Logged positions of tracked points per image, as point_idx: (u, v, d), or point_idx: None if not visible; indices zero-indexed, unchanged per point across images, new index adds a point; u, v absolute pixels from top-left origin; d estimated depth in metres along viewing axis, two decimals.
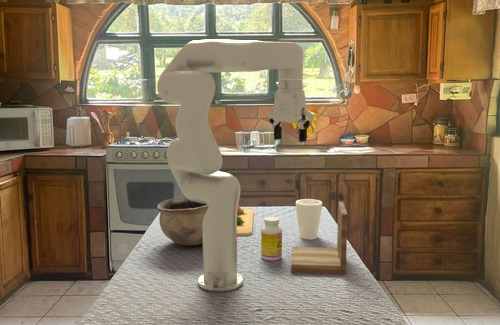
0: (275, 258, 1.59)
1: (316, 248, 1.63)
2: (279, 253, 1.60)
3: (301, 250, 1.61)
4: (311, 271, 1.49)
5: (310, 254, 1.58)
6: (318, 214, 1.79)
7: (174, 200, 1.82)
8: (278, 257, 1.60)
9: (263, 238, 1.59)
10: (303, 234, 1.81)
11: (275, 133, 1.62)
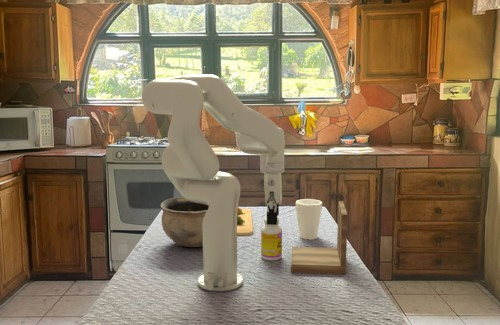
0: (275, 258, 1.59)
1: (316, 248, 1.63)
2: (279, 253, 1.60)
3: (301, 250, 1.61)
4: (311, 271, 1.49)
5: (310, 254, 1.58)
6: (318, 214, 1.79)
7: (178, 199, 1.82)
8: (278, 257, 1.60)
9: (263, 238, 1.59)
10: (303, 234, 1.81)
11: None
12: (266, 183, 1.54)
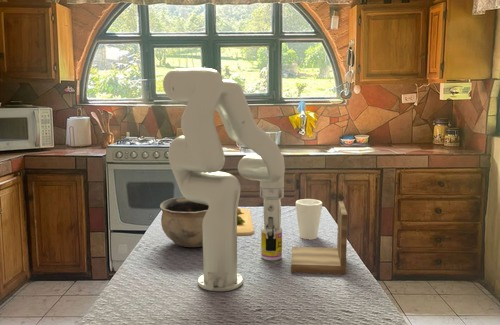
0: (275, 258, 1.59)
1: (316, 248, 1.63)
2: (279, 253, 1.60)
3: (301, 250, 1.61)
4: (311, 271, 1.49)
5: (310, 254, 1.58)
6: (318, 214, 1.79)
7: (178, 199, 1.82)
8: (278, 257, 1.60)
9: (263, 238, 1.59)
10: (303, 234, 1.81)
11: None
12: (265, 208, 1.55)
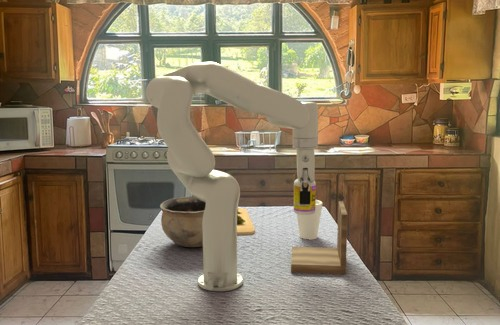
0: (309, 212, 1.52)
1: (316, 248, 1.63)
2: (313, 207, 1.53)
3: (301, 250, 1.61)
4: (311, 271, 1.49)
5: (310, 254, 1.58)
6: (318, 214, 1.79)
7: (178, 199, 1.82)
8: (312, 211, 1.53)
9: (296, 191, 1.52)
10: (303, 234, 1.81)
11: None
12: (300, 159, 1.48)
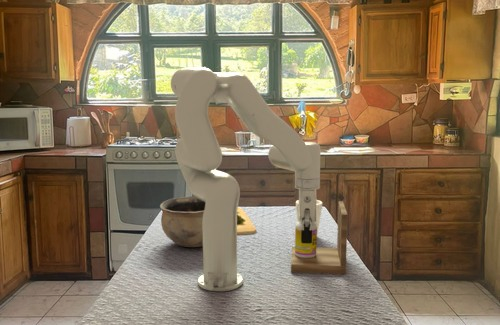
0: (310, 256, 1.54)
1: None
2: (314, 250, 1.55)
3: None
4: (311, 271, 1.49)
5: None
6: (318, 214, 1.79)
7: (178, 199, 1.82)
8: (313, 255, 1.54)
9: (297, 235, 1.54)
10: None
11: None
12: (301, 200, 1.50)
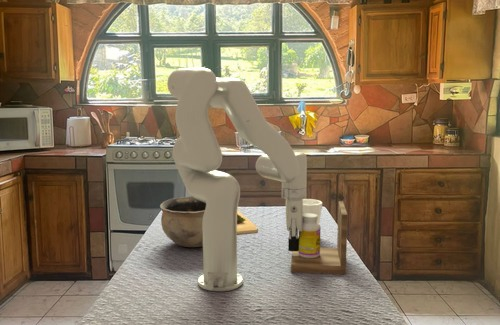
0: (314, 256, 1.54)
1: None
2: (318, 251, 1.54)
3: None
4: (311, 271, 1.49)
5: None
6: (318, 214, 1.79)
7: (178, 199, 1.82)
8: (317, 255, 1.54)
9: (301, 235, 1.54)
10: None
11: None
12: (288, 209, 1.51)
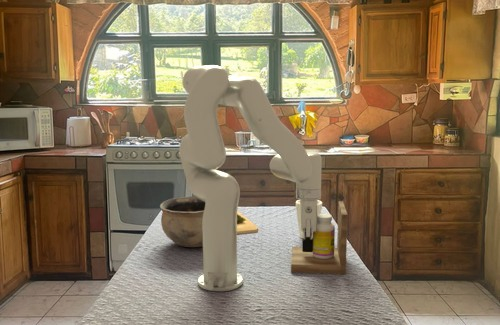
0: (328, 256, 1.53)
1: None
2: (332, 251, 1.54)
3: (301, 250, 1.61)
4: (311, 271, 1.49)
5: (310, 254, 1.58)
6: None
7: (178, 199, 1.82)
8: (331, 255, 1.54)
9: (316, 236, 1.53)
10: None
11: None
12: (303, 210, 1.50)
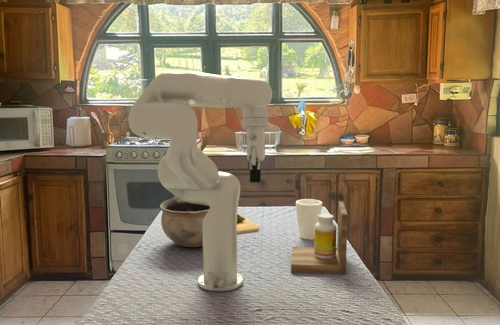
0: (330, 256, 1.53)
1: None
2: (334, 251, 1.54)
3: (301, 250, 1.61)
4: (311, 271, 1.49)
5: (310, 254, 1.58)
6: (318, 214, 1.79)
7: (178, 199, 1.82)
8: (333, 255, 1.54)
9: (317, 236, 1.53)
10: (303, 234, 1.81)
11: None
12: (248, 138, 1.50)
